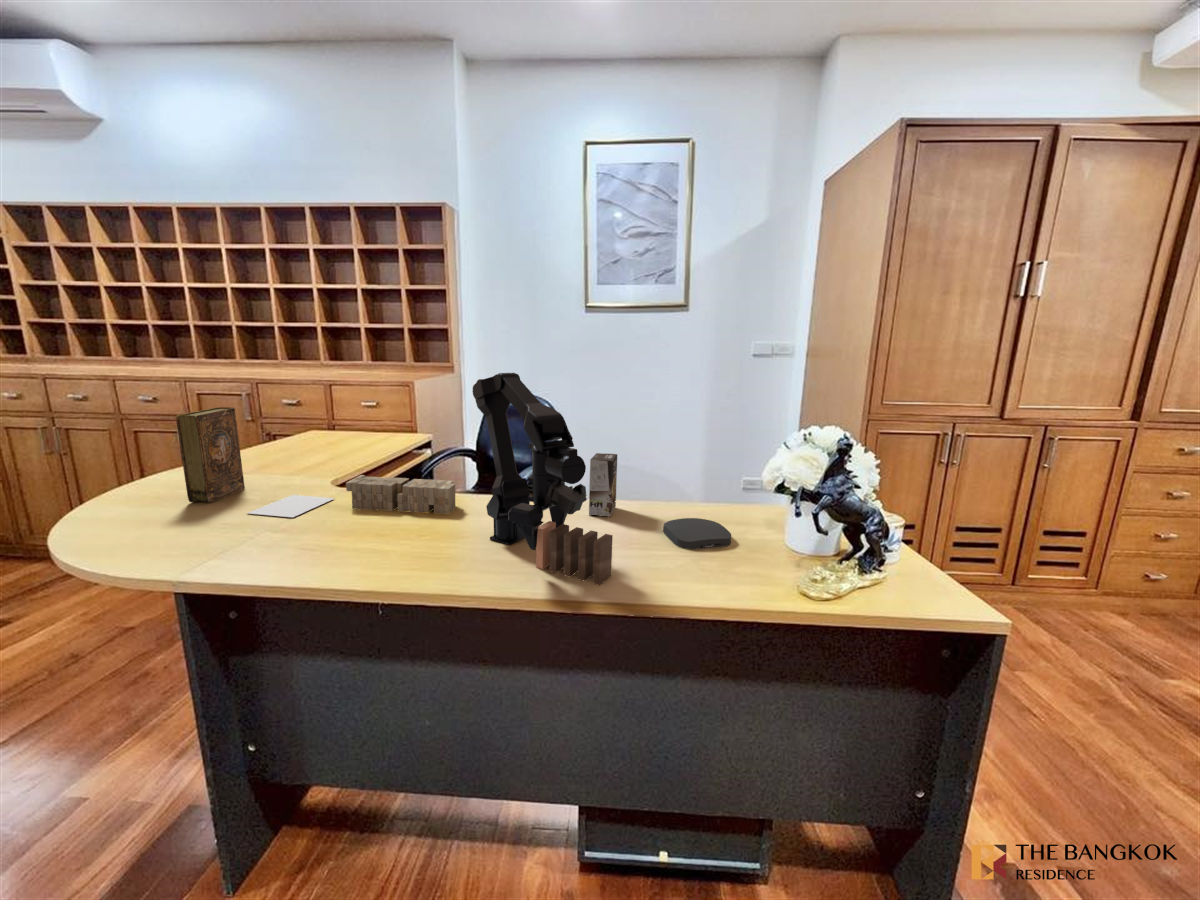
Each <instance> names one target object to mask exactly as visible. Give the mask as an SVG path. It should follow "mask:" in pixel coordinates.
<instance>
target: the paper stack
mask: <svg viewBox="0 0 1200 900" xmlns="http://www.w3.org/2000/svg"><path fill="white" fill-rule="evenodd" d="M335 499H336V498H334V497H323V496H313V495H312V496H311V495H310V496H309V495H299V494H291V495H289V496H286V497H283V498H281V499H279V500H276V501H274V502H271V503H269V504H267V505H263V506H261V507H259V508H257V509H253V510H251V511H248V512H247V514H250V515H261V516H271V517H272V516H274V517H283V518H295V517H298V516H299V515H303V513H306V512H308V511H311V510H312V509H315V508H317V507H319V506H321V505H323V504H326V503H328V502H330V501H332V500H335Z"/></svg>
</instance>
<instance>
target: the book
mask: <svg viewBox="0 0 1200 900" xmlns="http://www.w3.org/2000/svg"><path fill="white" fill-rule="evenodd" d="M175 421H176V428H177V434H178V441H179V446H180V447H179V448H180V455H181V462H182V469H183V475H184V476H183V477H184V481H185V488H186V489H185V490H186V493H187V494H186V495H187V500H188V502H189V503H197V502H203V503H204V502H205V503H207V504H211V503H214V502H216V501H220V500H221V498H222V499H223V497H224V498H226V497H228V495H229V496H231V495H233V494H235V493H234V492H236V493H238V492H240V491H242V490H241V489H243V488H245V479H244V472H243V471H244V470H243V463H242V456H241V449H240V447H241V446H240V441H239V432H238V424H237V418H236V408H235V407H229V406H221V407H220V406H219V407H212V408H208V409H202V410H197V411H191V412H190V411H189V412H186V413H181V414H177V415H176V417H175ZM245 489H246V488H245ZM239 490H240V491H239ZM243 490H244V489H243ZM237 491H238V492H237ZM232 493H233V494H232ZM230 494H231V495H230ZM225 496H226V497H225Z"/></svg>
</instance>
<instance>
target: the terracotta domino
mask: <svg viewBox="0 0 1200 900" xmlns="http://www.w3.org/2000/svg"><path fill="white" fill-rule="evenodd" d="M555 528H556V522H552V520H549V521H546V522H545V523H542V524H541V525H540V526H539V527H538V535H537V545H536V550H535V551H536V557H535V558H536V563H535V564H536V566H535V567H536V569H537V568H538V569H541V570H544V569H546V568H547V567H548V566H550V531H551V530H553V529H555Z"/></svg>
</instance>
